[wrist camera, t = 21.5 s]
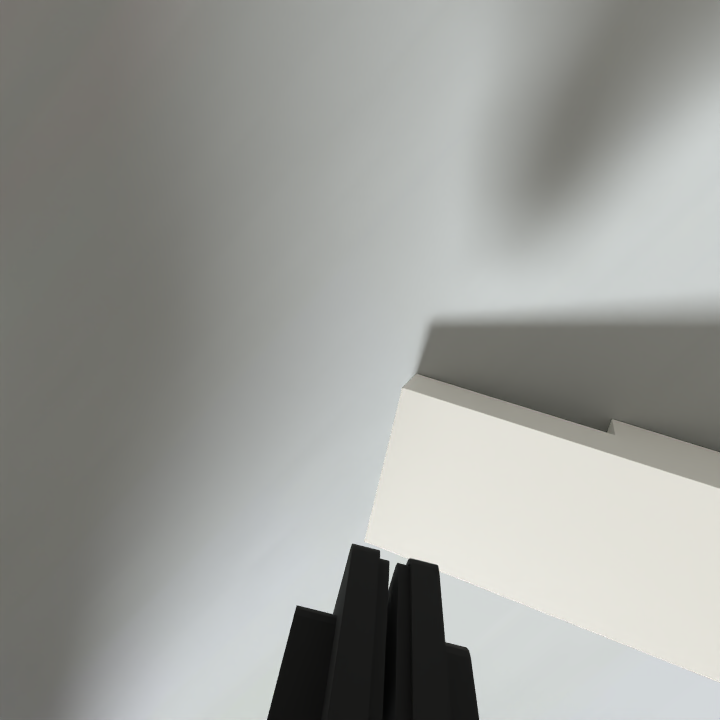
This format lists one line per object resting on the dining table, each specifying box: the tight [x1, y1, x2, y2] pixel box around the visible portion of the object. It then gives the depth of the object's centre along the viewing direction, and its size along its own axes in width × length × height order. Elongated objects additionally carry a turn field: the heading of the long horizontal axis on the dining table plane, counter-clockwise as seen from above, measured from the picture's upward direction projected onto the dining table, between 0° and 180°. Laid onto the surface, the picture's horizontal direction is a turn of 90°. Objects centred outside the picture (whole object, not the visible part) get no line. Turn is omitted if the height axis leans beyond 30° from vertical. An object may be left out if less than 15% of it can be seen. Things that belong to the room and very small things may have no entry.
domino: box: [364, 374, 720, 683], centre depth 16 cm, size 2×5×10 cm
